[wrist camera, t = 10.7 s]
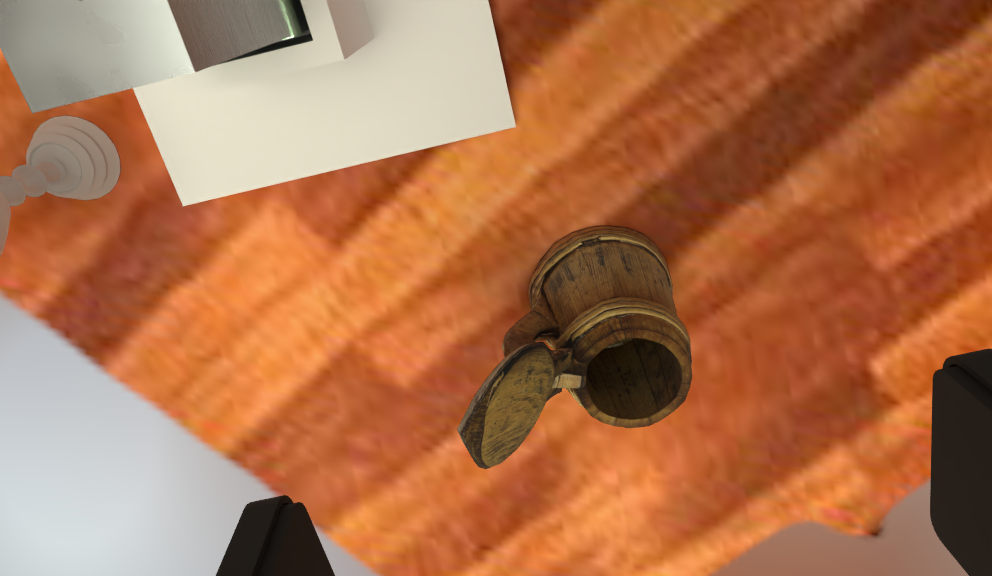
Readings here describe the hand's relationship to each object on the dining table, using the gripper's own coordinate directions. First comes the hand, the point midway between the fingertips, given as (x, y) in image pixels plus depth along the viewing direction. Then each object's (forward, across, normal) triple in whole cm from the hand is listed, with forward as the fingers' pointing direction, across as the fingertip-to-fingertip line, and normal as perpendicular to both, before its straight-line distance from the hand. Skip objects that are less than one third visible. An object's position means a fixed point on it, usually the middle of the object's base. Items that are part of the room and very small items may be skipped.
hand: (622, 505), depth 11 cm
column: (+27, +10, -9) cm, 30 cm away
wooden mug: (+34, -1, +12) cm, 37 cm away
